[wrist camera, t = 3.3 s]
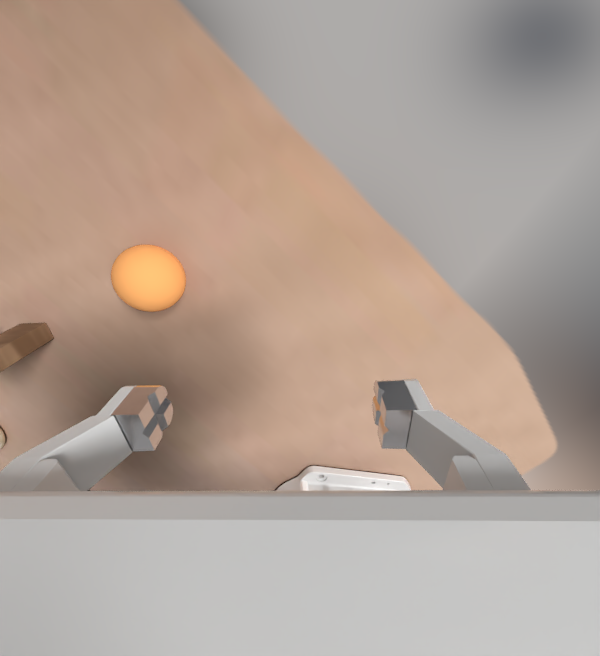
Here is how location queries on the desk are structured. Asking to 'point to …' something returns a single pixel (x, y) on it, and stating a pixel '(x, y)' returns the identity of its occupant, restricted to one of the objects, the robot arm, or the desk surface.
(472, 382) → the desk surface
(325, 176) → the desk surface
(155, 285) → the ball
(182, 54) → the desk surface
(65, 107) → the desk surface
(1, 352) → the bridge
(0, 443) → the stacking toy
